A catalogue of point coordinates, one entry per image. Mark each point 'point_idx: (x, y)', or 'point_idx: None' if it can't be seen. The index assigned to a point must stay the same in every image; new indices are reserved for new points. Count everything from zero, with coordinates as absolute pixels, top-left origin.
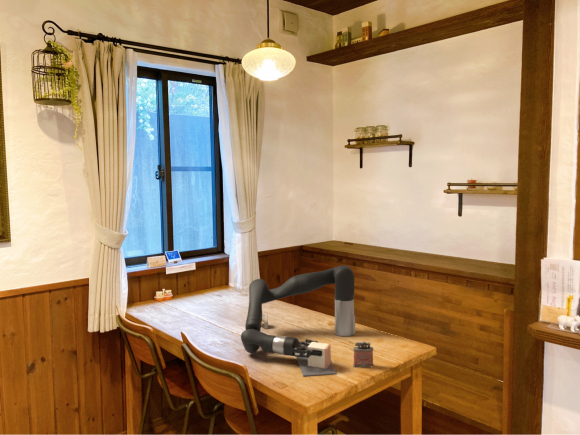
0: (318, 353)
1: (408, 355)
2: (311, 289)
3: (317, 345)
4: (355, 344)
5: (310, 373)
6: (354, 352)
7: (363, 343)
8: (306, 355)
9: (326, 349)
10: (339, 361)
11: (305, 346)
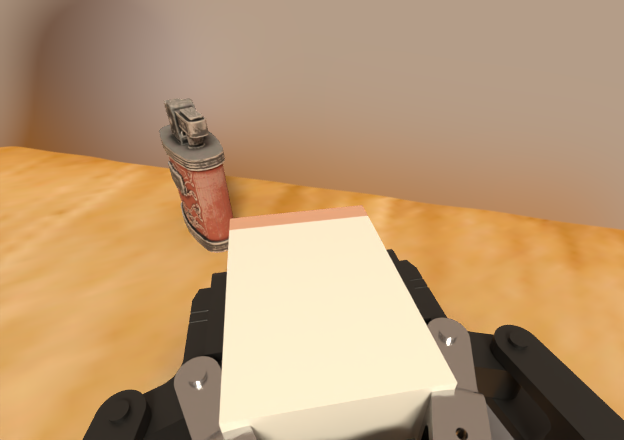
0: (415, 275)
1: (68, 164)
2: None
3: (324, 292)
4: (205, 125)
5: None
6: (220, 174)
7: (193, 105)
8: (505, 407)
9: (362, 206)
10: (179, 326)
11: (459, 437)
